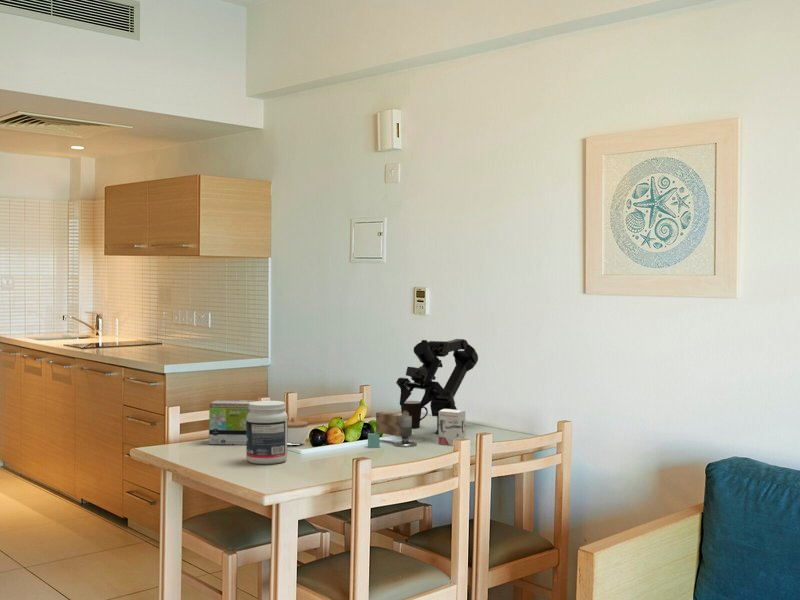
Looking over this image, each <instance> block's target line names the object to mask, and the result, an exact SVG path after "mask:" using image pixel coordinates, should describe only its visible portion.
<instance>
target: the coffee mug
mask: <svg viewBox="0 0 800 600" xmlns="http://www.w3.org/2000/svg"><path fill="white" fill-rule="evenodd" d="M420 402H421V401H420V400H406V401H405V403H404V404H403V405H402V406H401V405H400V410H401V415H408V416H412V430H416V429H419V428H420V427H421V421H422V420H423V419H425V418H426V416H428V414H429V411H428V408H427V407H426V406H424V407H422V408H419V405H420ZM422 409H424V410H425V412H426V413H425V414H424V415H423V416H422ZM421 416H422V417H421Z"/></svg>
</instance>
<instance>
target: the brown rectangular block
mask: <svg viewBox="0 0 800 600" xmlns="http://www.w3.org/2000/svg"><path fill="white" fill-rule="evenodd" d="M412 431H413V429H412V416H408V415H402V414H398V413H392V412H386V411H385V412H384V411H380V412H376V413H375V432H376V433H380V434H385V435H390V436H395V437H401V438H402V437H409V438H410V437H412V435H413V432H412Z"/></svg>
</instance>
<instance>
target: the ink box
mask: <svg viewBox="0 0 800 600" xmlns="http://www.w3.org/2000/svg"><path fill="white" fill-rule="evenodd" d="M457 438H466V410H463V409H457V410H454V409H442V410H440V411H439V434H438V444H439V445H447V446H453V445H452V444H453V440H454V439H457Z"/></svg>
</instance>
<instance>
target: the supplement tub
mask: <svg viewBox="0 0 800 600" xmlns="http://www.w3.org/2000/svg"><path fill="white" fill-rule="evenodd" d="M286 408H287V407H286V402H284V401H281V400H257V401H255V402H250V403H249V408H248V409H249V410H250V412H249V413H248V414H247V417H246V445H245V446H246V451H245V452H246V460H247V461H248V462H250V463H252V464H254V465H255V464H257V465H275V464H281V463H283V462H285V461H286V460H287V459H288V457H289V455H288V446H287V443H288V421H289V420H288V418H289V417H288V413H287V412H286V411H285V409H286Z"/></svg>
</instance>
